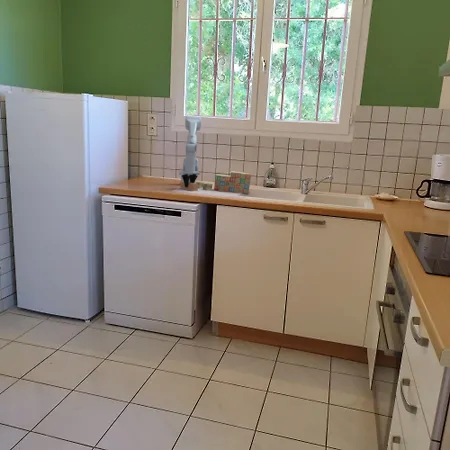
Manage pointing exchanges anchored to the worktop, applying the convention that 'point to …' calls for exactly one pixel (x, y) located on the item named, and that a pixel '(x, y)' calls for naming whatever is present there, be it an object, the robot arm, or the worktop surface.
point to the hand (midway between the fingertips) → (188, 187)
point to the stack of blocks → (233, 182)
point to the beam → (189, 186)
